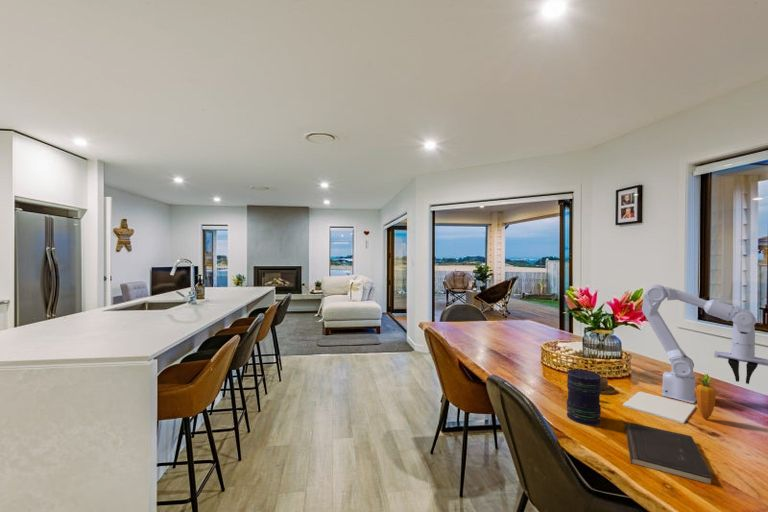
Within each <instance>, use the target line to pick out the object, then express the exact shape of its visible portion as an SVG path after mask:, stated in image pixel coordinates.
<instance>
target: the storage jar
mask: <svg viewBox="0 0 768 512" xmlns="http://www.w3.org/2000/svg"><path fill="white" fill-rule="evenodd" d="M571 364H572V365H574V366H575V365H577V363H576V362H571ZM601 377H602V376H601V375H600V374H599V373H597V372H594V371H592V370H586V369H580V368H573V369H572V368H571V369H568V370H567V377H566V383H567V384H566V387H567V399H566V411H567V413H566V416H567V418H568V419H569V420H571V421H572V422H574V423H577V424H580V425H585V426H598V425H600V423H601V419H600V418H601V413H602V412H601V410H602V409H601V407H602V406H601V404H600V399H601V398H600V397H601V396H600V395H602V394H601V381H600V380H601Z"/></svg>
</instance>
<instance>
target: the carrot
mask: <svg viewBox="0 0 768 512" xmlns="http://www.w3.org/2000/svg"><path fill="white" fill-rule="evenodd" d="M703 375H704V377H703V379H702V377H700V376H695V379H698V380H699V381H700V382H701V384H698V385H697V386H696V387H695V390H696V393H695V394H696V395H695V396H696V397H697V400H696V402H697V408H698V411H699V412H700V414H701V416H702V418H703V419H704V420H705V421H706V420H708V419H709V418H710V417H711V416H712V414H713V411H714V409H715V405H716V401H717V400H716V399H717V398H716V397H717V390H716V388H715V387H713V386H711V385H710V383H711V382H712V379H713V378H712V377H710V376H709V374H707V373H704V374H703Z"/></svg>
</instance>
